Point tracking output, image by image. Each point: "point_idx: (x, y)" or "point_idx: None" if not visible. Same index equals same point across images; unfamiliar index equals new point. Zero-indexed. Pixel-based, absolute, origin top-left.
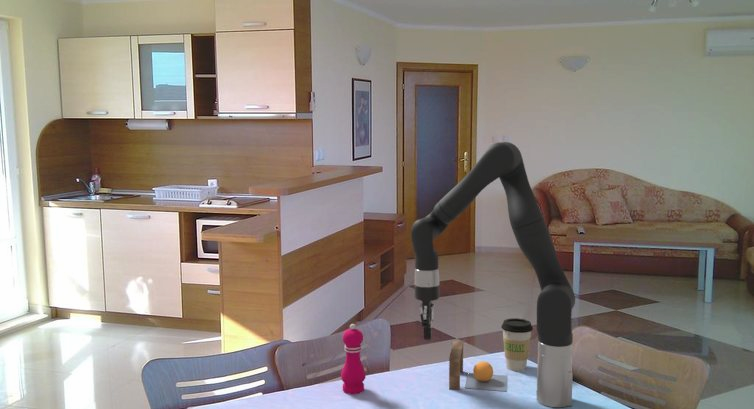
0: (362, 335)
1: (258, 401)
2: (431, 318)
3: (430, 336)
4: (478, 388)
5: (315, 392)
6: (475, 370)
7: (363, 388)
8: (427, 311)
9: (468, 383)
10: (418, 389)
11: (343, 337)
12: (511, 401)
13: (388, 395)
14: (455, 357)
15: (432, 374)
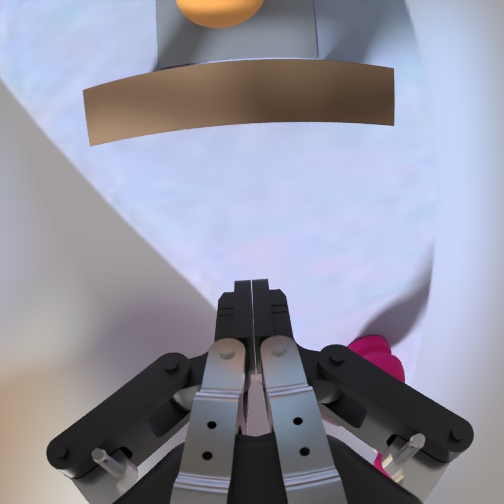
0: None
1: None
2: (317, 407)
3: (269, 291)
4: (311, 12)
5: None
6: (249, 12)
7: (373, 339)
8: (401, 486)
9: (272, 46)
10: (353, 213)
11: None
12: None
13: (396, 281)
14: (389, 91)
15: (208, 191)
